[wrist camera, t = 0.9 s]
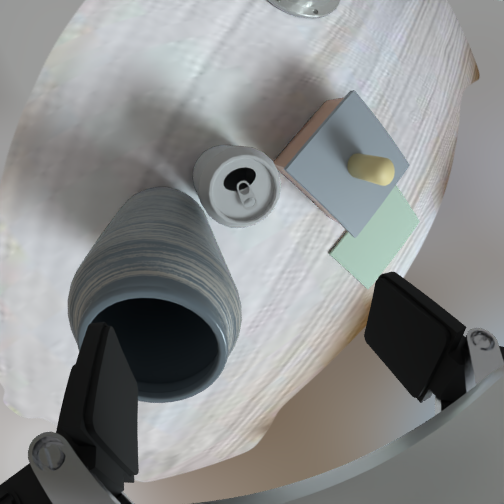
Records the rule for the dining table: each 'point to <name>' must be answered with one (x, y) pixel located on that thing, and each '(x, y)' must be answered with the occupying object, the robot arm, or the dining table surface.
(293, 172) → the lid
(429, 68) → the dining table surface
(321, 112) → the salmon open box
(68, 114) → the dining table surface
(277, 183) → the can
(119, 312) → the vase
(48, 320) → the dining table surface
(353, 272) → the mat
